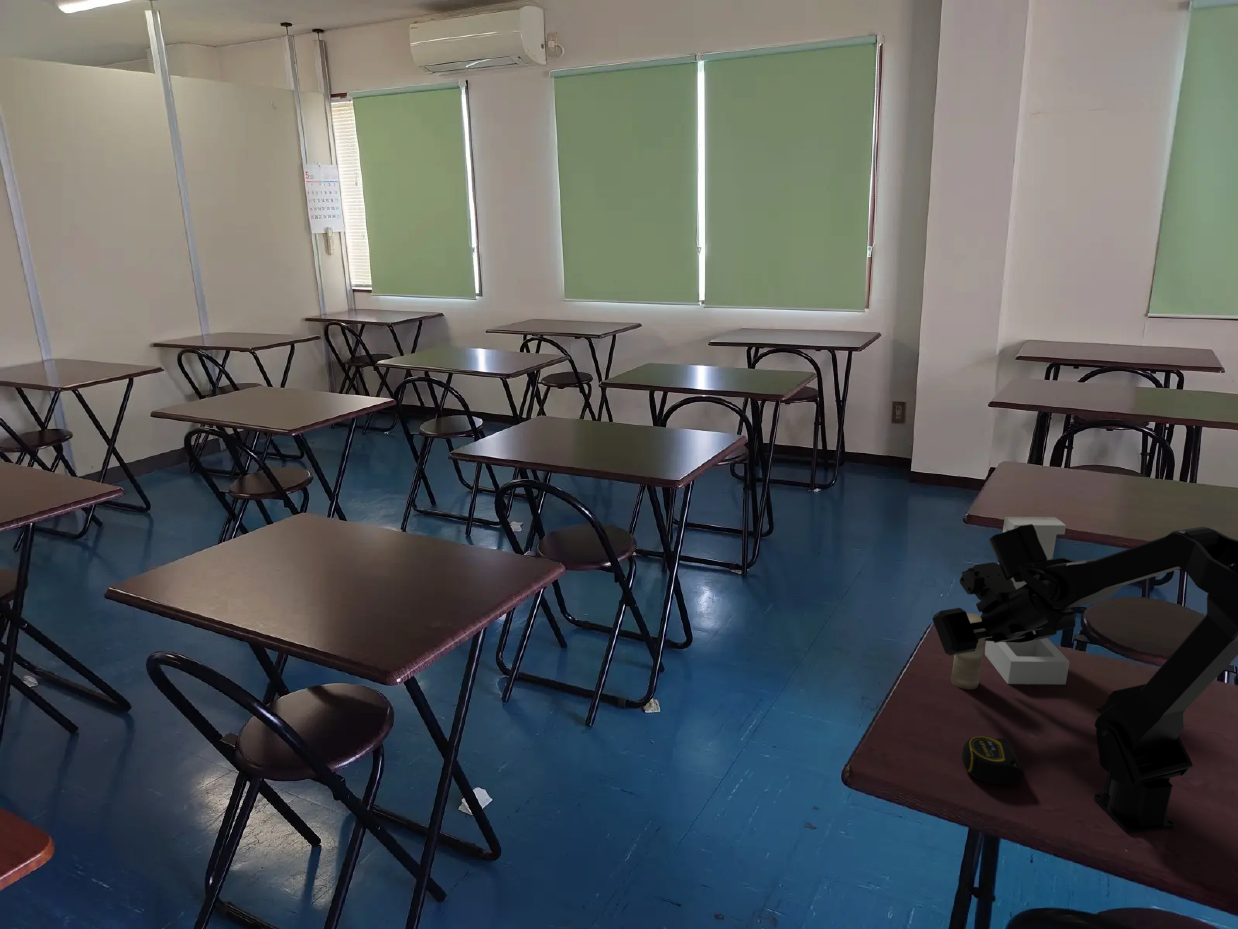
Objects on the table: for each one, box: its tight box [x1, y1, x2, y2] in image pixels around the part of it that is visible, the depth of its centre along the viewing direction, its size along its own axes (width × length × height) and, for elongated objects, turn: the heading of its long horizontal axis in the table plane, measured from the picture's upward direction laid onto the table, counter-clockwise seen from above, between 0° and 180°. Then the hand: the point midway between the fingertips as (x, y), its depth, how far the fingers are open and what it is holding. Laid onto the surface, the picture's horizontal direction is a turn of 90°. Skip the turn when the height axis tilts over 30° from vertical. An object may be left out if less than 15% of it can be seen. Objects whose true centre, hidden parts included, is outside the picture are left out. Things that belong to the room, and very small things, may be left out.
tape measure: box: [961, 735, 1025, 785], centre depth 113 cm, size 7×7×4 cm
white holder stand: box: [984, 516, 1070, 685], centre depth 135 cm, size 10×9×24 cm
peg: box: [950, 612, 986, 690], centre depth 132 cm, size 4×4×11 cm
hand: (964, 640), depth 133 cm, fingers open, 7 cm apart
